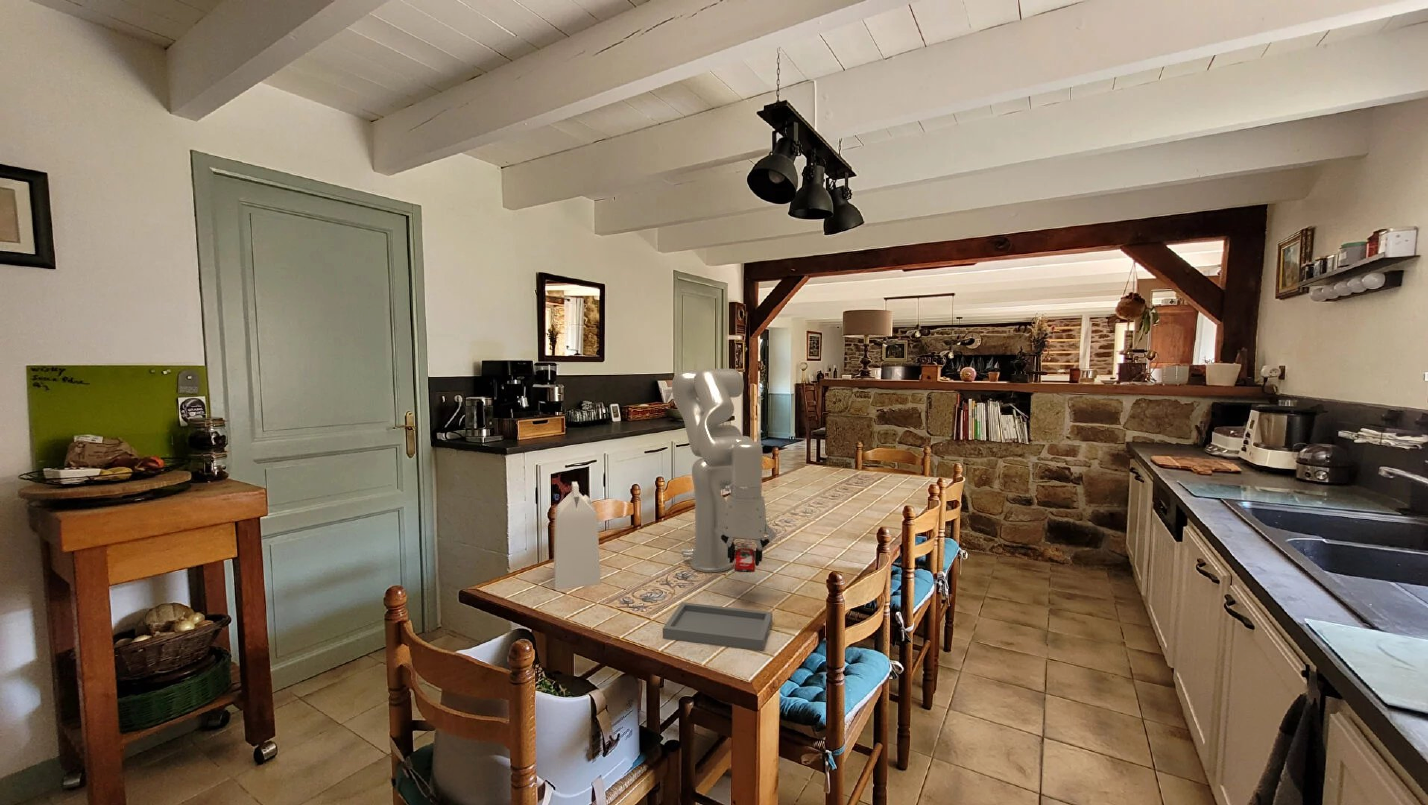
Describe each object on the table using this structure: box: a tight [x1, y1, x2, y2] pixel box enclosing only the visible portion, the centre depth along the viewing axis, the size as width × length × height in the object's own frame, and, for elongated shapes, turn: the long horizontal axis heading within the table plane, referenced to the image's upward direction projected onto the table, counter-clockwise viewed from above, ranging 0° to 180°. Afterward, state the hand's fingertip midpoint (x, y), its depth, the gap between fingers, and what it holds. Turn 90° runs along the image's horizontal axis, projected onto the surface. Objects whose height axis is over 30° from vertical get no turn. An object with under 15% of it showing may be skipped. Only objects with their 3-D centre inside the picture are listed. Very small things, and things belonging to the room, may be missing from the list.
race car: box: [733, 547, 756, 574], centre depth 138 cm, size 13×5×4 cm, turn 175°
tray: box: [662, 601, 773, 652], centre depth 121 cm, size 21×13×2 cm, turn 76°
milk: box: [553, 481, 601, 591], centre depth 149 cm, size 12×12×26 cm
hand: (744, 561), depth 138 cm, fingers closed on race car, 5 cm apart
